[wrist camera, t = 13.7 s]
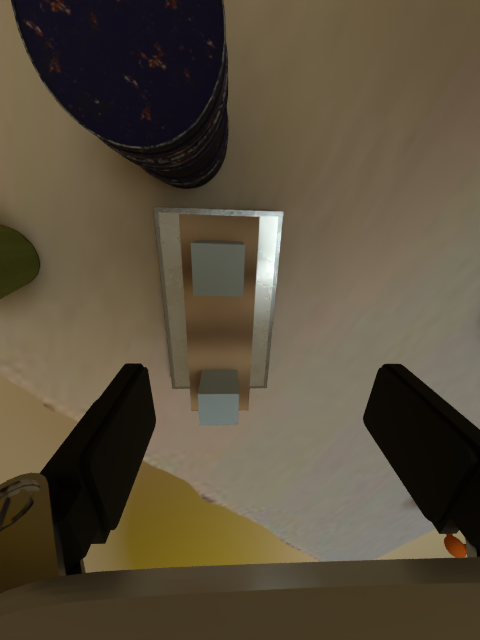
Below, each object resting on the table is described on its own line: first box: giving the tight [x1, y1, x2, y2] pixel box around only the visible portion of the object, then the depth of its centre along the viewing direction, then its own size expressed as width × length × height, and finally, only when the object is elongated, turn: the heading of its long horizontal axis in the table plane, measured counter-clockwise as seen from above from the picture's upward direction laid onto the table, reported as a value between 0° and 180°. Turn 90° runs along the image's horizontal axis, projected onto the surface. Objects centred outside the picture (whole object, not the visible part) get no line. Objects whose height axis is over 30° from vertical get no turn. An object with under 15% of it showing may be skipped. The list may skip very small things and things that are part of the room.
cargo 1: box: [191, 240, 245, 297], centre depth 19 cm, size 4×4×4 cm
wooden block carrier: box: [179, 214, 260, 411], centre depth 26 cm, size 22×7×6 cm, turn 178°
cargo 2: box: [198, 370, 239, 425], centre depth 25 cm, size 4×4×4 cm
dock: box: [153, 207, 283, 389], centre depth 30 cm, size 14×24×3 cm, turn 178°
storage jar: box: [11, 0, 228, 189], centre depth 17 cm, size 10×10×15 cm
